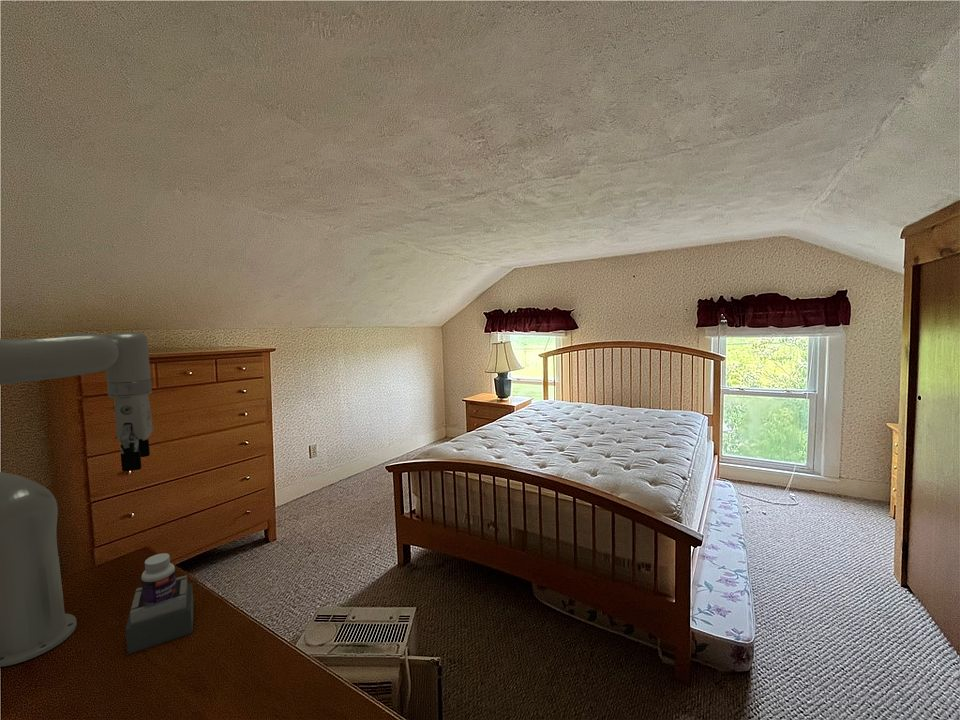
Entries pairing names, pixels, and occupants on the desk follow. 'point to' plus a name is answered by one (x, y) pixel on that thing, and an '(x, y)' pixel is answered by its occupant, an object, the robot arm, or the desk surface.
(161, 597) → the pill bottle
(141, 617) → the grey open box
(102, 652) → the desk surface
